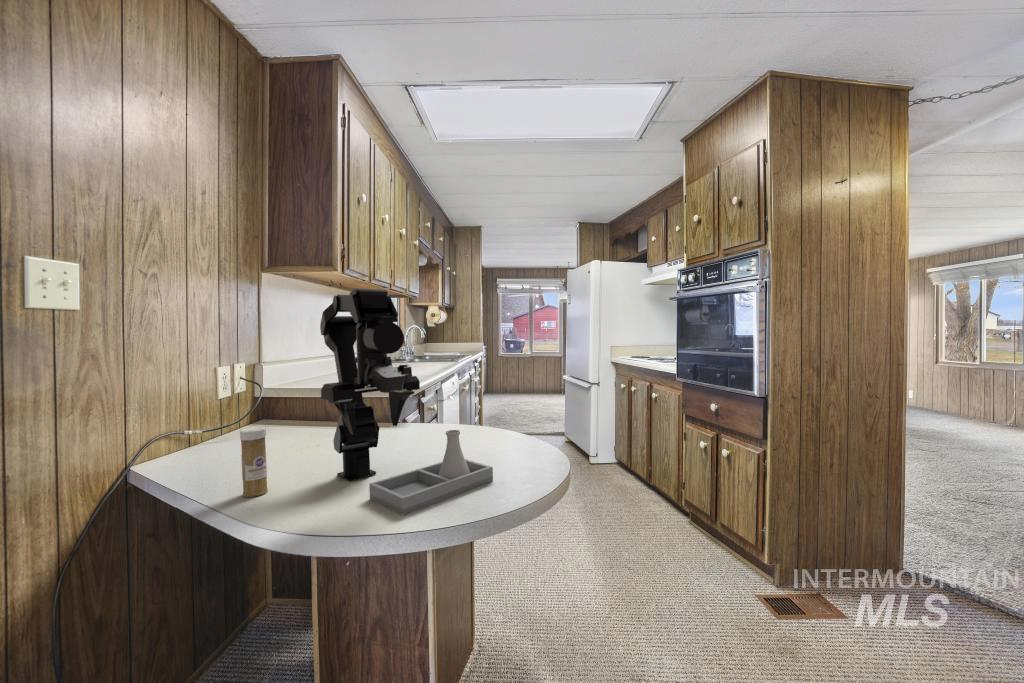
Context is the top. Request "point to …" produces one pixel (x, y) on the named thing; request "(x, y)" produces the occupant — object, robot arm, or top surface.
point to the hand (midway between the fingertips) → (374, 429)
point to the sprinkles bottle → (254, 461)
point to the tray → (426, 486)
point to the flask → (453, 458)
